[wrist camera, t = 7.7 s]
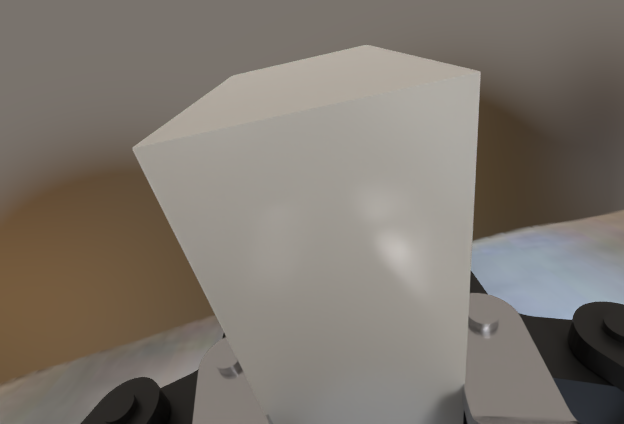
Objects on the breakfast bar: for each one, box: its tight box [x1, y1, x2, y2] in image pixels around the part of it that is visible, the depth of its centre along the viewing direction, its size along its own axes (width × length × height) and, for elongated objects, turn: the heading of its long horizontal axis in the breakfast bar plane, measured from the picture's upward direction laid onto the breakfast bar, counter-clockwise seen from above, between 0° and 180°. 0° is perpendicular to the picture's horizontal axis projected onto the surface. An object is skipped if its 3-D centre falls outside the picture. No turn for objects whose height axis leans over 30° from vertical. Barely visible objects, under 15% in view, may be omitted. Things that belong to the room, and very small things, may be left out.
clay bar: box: [132, 45, 480, 424], centre depth 8 cm, size 3×5×14 cm, turn 3°
